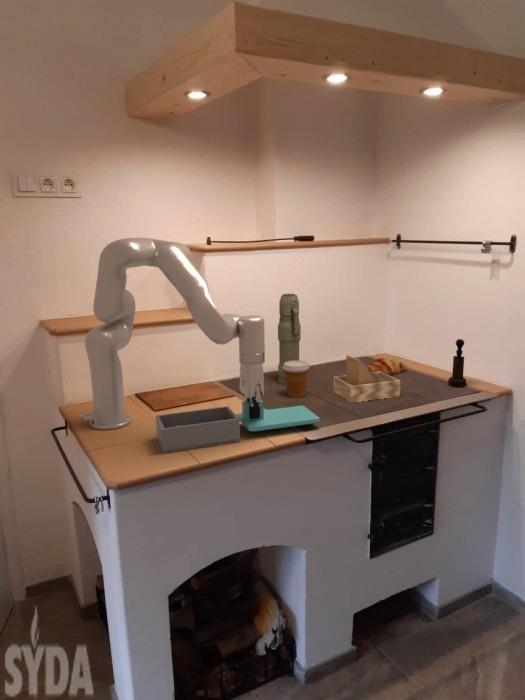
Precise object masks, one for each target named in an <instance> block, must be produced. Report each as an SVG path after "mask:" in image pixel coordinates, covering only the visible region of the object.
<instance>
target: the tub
mask: <svg viewBox="0 0 525 700" xmlns="http://www.w3.org/2000/svg"><path fill="white" fill-rule="evenodd" d="M240 423H241V422H240V421H239V418H238V417H237V416H236V413H235V412H234V411H233V410H232V409H231V408H230V406H228V405H226V406H218V407H211V408H204V409H203V408H202V409H195V410H186V411H179V412H172V413H164V414H157V415H155V425H156V426H155V429H156V438H157V441H158V443H159V446H160V449H161V451H162V453H163V455H165V454H170V453H175V452H176V453H177V452H183V451H189V450H196V449H197V450H198V449H203V448H204V449H205V448H209V447H214V446H216V447H217V446H222V445H223V446H224V445H229V444H235V443H240V442H241V429H240V428H241V427H240V426H241V425H240Z"/></svg>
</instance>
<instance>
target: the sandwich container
mask: <svg viewBox="0 0 525 700" xmlns="http://www.w3.org/2000/svg"><path fill="white" fill-rule="evenodd" d="M345 357H346V358H345V359H346V364H345V366H346V368H345V375H346V382H347V383H348V384H350V385H352V386H356V385H364V384H372V383H380V381H379V380H378V379H377V378H376V377H375V376H374V375H373V374H372V373H371V372H370V371H369V370H368V368H367V367H366V366H367V365H365V364H364V363H363V362H362V361H361V360H360V359H359V358H357V357H354V356H351V355H346V356H345Z"/></svg>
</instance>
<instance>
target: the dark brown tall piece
mask: <svg viewBox="0 0 525 700" xmlns="http://www.w3.org/2000/svg"><path fill="white" fill-rule="evenodd" d="M455 345H456V348H457V350H456V351H455V352H456V355H454V356H452V357H453V358H452V359H453V361H452V375H451V376H450V377H449V378H448V380H447V385H448V386H450V387H452V388H464V387H467V379H466V378H465V377H464V370H465V369H464V368H465V367H464V366H465V357H464V356H462V355H463V353H464V351H463V349H462V348H463V347H464V346H465V340H463V339H461V338H458V339H456V340H455Z"/></svg>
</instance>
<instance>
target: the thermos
mask: <svg viewBox="0 0 525 700" xmlns="http://www.w3.org/2000/svg"><path fill="white" fill-rule="evenodd" d="M278 304H279V306H278V307H279V308H278V309H279V311H278V312H279V319H278V320H279V322H278V324H277V339H278V342H279V344H278V347H279V351H278V354H279V355H278V356H279V359H278V360H279V362H278V365H277V376H278V384H279V383H280V385H283V386H286V380H285V372H284V368H283V366H284V363H285V362H287V361H300V341H301V337H302V336H301V333H302V332H301V327H302V325H301V323H300V317H299V315H300V300H299V297H298V294H295V293H283V294H282V295H281V296H280V299H279V303H278Z"/></svg>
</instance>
